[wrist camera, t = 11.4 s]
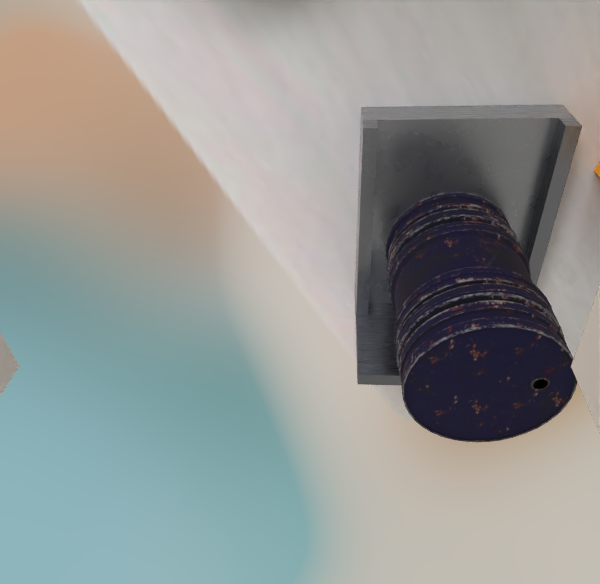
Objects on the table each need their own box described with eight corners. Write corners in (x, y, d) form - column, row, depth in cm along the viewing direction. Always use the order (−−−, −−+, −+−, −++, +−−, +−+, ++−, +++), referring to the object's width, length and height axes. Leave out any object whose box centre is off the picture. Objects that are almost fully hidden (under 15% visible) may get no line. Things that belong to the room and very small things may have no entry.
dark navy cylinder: (391, 303, 47) (408, 449, 35) (376, 202, 41) (390, 336, 29) (512, 287, 45) (573, 435, 33) (514, 180, 39) (589, 313, 27)
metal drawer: (361, 107, 39) (366, 174, 30) (562, 104, 38) (627, 173, 29) (354, 294, 49) (357, 384, 41) (512, 295, 48) (549, 388, 40)
